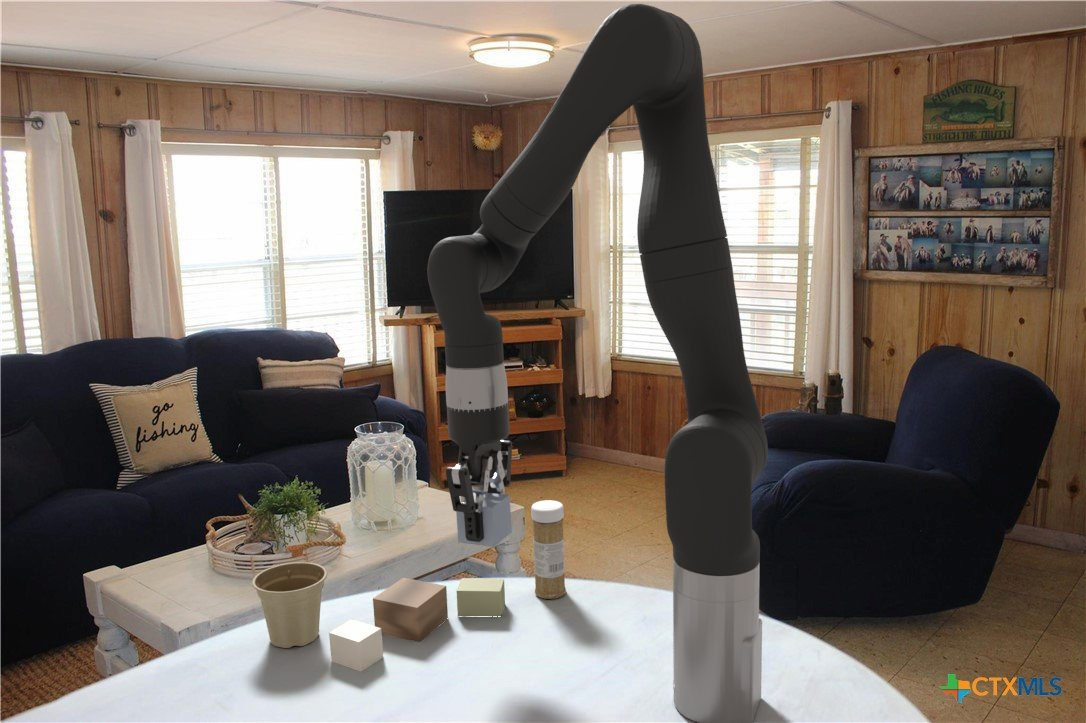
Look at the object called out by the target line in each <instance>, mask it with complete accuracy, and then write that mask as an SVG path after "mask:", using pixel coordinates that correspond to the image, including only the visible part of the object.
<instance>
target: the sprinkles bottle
mask: <svg viewBox="0 0 1086 723" xmlns="http://www.w3.org/2000/svg"><path fill="white" fill-rule="evenodd" d="M530 507H531V509H530V511H531V512H530V514H531V517H530V518H531V519H532V530H533V532H532V533H533V537H532V540H533V541H532V543H533V567H534V568H533V570H534V582H535V588H534V593H535V595H536V596H537V597H539V598H542V599H545V600H554V599H559V598H560V597H563V596H564V595H565V594H566V592H567V590H566V589H567V588H566V583H565V581H566V580H565V575H566V574H565V573H566V572H565V571H566V568H565V540H564V526H563V525H564V524H563V521H564V518H565V515H564V514H565V513H564V512H565V511H564V504H563V503H562V502H560V501H558V500H550V499H548V500H545V499H544V500H539V501H536V502H534V503H533V504H532V505H531V506H530Z"/></svg>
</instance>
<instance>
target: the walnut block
mask: <svg viewBox="0 0 1086 723" xmlns="http://www.w3.org/2000/svg"><path fill="white" fill-rule="evenodd" d="M372 603H373V604H372V607H373V620H374V621H373V622H374V626H375V627H378V628H381V633H382V635H384V636H385V635H386V636H390V637H394V638H397V639H398V638H399V639H403V640H407V641H412V642H415V643H416V642H417V643H421V642H422V641H423V640H424V639H425V638H427V637H428V636H429V635H430V634H431V632H432V633H433V632H434V631H436V630H437V627H438V626H439V625H440V624H441V625H443V624H444V623H445V622H446V621H448V619H449V612H448V593H447V585H445V584H438V583H434V582H428V581H421V580H418V579H412V578H408V577H402V578H401V579H399V580H398V581H396V582H395V583H394V584H391V585H390V586H389V587H387V588H386V589H385V590H382V592H380V593H378V594H377V595H376V596H374V597H373V598H372ZM447 618H448V619H447ZM445 620H446V621H445ZM444 621H445V622H444ZM443 622H444V623H443ZM442 623H443V624H442ZM441 625H440V626H441ZM440 626H439V627H440ZM439 627H438V628H439Z"/></svg>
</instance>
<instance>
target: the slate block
mask: <svg viewBox="0 0 1086 723" xmlns="http://www.w3.org/2000/svg"><path fill="white" fill-rule="evenodd" d="M473 496H474V501H475V499H476V494H475V493H473ZM460 502H461V500H460ZM455 513H456V527H457V529H456V531H457V541H458V543H459V544H466V545H467V544H468V545H474V546H482V547H483V546H485V547H491V548H492V547H493V548H496V547H497V545H499V544H500V543H501V542H502V541H503V540H505V539H506V538H507V537H508V536H509V535H510V534H511V533H512V520H511V519H512V516H511V515H512V514H511V497H510V494H508V493H507V494H506V493H504V494H497V493H486V494H484V497H483V507H482V513H483V530H484V539H483V540H481V541H480V542H475V541H468V540H467V539H466V536H465V520H464V513H463V512H457V511H455Z"/></svg>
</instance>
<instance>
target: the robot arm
mask: <svg viewBox="0 0 1086 723" xmlns="http://www.w3.org/2000/svg"><path fill="white" fill-rule="evenodd" d="M705 98H706V97H705V82H704V68H703V57H702V51H701V45H700V43H699V40H698V37H697V35H696V33H695V31H694V30H693V28H692V27H691V26H690V24H689V23H688V22H687V21H685V20H684V19H683V18H682V17H681V16H679V15H676V14H674V13H672V12H669V11H666V10H663V9H660V8H658V7H656V6H652V5H649V4H643V3H630V4H626V5H623V6H620V7H619V8H617V9H614V11H612V13H610V14H609V15H608V16H607V17H606V18H605V19H604V20H603V22H602V23H601V24H600V25H599V27H598V29H597V30H596V32H595V33H594V35H593V36H592V38H591V40H590V41H589V43H588V45H587V46H586V49H585V50H584V52H583V53H582V55H581V58H580V59H579V61H578V63H577V64H576V67H575V69H574V70H573V71H572V74H571V75H570V77H569V79H568V80H567V82H566V84H565V86H564V87H563V89H562V90H561V92H560V94H559V96H558V97H557V99H556V100H555V102H554V104H553V105H552V107H551V108H550V111H548V114H547V115H546V117H545V118H544V120H543V121H542V123H541V124H540V126H539V128H538V129H537V130H536V132H535V133H534V135H533V136H532V137H531V139H530V140H529V142H528V144H527V145H526V146H525V148H523V150H522V151H521V153H520V154H519V155H518V156H517V158H516V159H515V160H514V161H513V163H512V164H511V165H510V166H509V168H508V169H507V170H506V171H505V172H504V173H503V175H502V176H501V178H500V179H499V180H498V181H497V183H496V184H495V185H494V186H493V188H492V189H491V190H490V191H489V193H488V194H487V195H486V196H485V198H484V200H483V201H482V203H481V205H480V207H479V208H480V209H479V217H480V221H481V223H482V224H481V225H480V227H479V228H478V229H477V230H476V231H475V232H474V233H473V234H469V235H468V234H467V235H457V236H449V237H445V238H443V239H441V240H440V241H438V242H437V243H436V244H435V245H434V246H433V248H432V250H431V252H430V254H429V258H428V260H427V261H428V262H427V272H426V274H427V281H428V285H429V290H430V293H431V297H432V299H433V304H434V306H435V310H436V312H437V316H438V319H439V321H440V324H441V327H442V329H443V333H444V334H443V335H444V353H445V367H446V368H445V402H446V414H447V431H448V432H447V433H448V437H449V439H450V440H451V441H452V442H455V444H457V446H458V447H459V449H458V450H459V451H458V452H459V453H458V458H457V459H458V460H457V462H458V463H457V464H456V465H455V466H447V467H446V469H445V475H446V481H447V485H448V486H447V487H448V491H449V495H450V496H449V497H450V501H451V506H452V510H453V512H456V511H457V512H463V513H464V520H465V536H466V539H467V540H468V541H475V542H480V541H481V540H483V539H484V530H483V513H482V507H483V497H484V494H486V493H497V494H506V491H505V490H506V488H509V487H510V486H511V478H512V477H511V476H512V459H513V458H512V457H513V455H512V454H513V442H512V441H511V440H506V439H507V438H508V437H509V435H510V433H511V429H510V410H509V409H510V408H509V394H508V379H507V373H506V369H505V368H506V367H505V362H504V361H505V359H504V357H505V356H504V340H503V337H504V336H503V328H502V324H501V323H502V322H501V321H500V319H499V318H498V317H497V316H495V315H493V314H490V313H486V311H485V308H484V306H483V302H482V297H481V294H482V293H488V292H491V291H494V290H495V289H497V288H499V287H500V286H501V285H502V284H504V283H505V281H506V280H508V278H509V277H511V275H512V274H513V272H514V271H515V269H516V268H517V266H518V264H519V262H520V260H521V259H522V257H523V255H524V253H525V252H526V249H527V248H528V245H529V243H530V241H531V239H533V237H534V236H535V235H536V234H537V233H538V232H539V231H540V230H541V228H542V227H543V226H545V224H546V223H547V221H549V219H551V217H552V216H553V215H554V214H555V212H556V211H557V210H558V209H559V207H561V205H562V204H563V202H564V201H565V199H566V198H568V196H569V194H570V192H571V191H572V188H573V187H574V185H575V182H576V181H577V178H578V177H579V174H580V172H581V170H582V168H583V165H584V163H585V161H586V160H587V157H588V155H589V153H590V152H591V150H592V149H593V147H594V145H595V144H596V142H597V141H598V140H599V139H600V138H601V136H602V135H603V134H604V133H605V131H606V130H607V129H608V128H609V127H610V126H611V125H612V124H613V123H614V122H615V121H616V120H618V119H619V117H621V116H622V115H623V114H624V113H625V112H626V111H628V110H629V109H630V108H631V107H633V109H634V114H635V118H636V122H637V125H638V132H639V136H640V142H641V147H642V153H643V156H642V157H643V175H642V182H641V192H640V198H639V206H638V214H637V225H636V226H637V227H636V228H637V232H636V233H637V235H636V236H637V245H638V254H639V258H640V264H641V265H640V266H641V269H642V276H643V280H644V285H645V292H646V294H647V297H648V302H649V304H650V307H651V309H652V311H653V313H654V317H655V318H656V320H657V322H658V324H659V326H660V328H661V331H662V332H663V334H664V335H665V337H666V339H667V341H668V343H669V344H670V347H671V349H672V351H673V352H674V354H675V357H676V360H677V362H678V365H679V368H680V372H681V377H682V382H683V387H684V388H683V389H684V395H685V401H686V403H685V404H686V411H687V412H686V414H687V423H686V424H685V425H684V426H683V427H681V428H680V429H679V430H678V431H677V432H676V433H675V434H674V435H673V436H672V437H671V439H670V441H669V443H668V445H667V449H666V454H665V459H664V496H665V497H664V498H665V499H664V500H665V516H666V519H665V520H666V521H665V523H666V530H667V535H668V538H669V540H670V542H671V544H672V577H673V578H672V581H673V582H672V589H673V590H672V598H673V599H672V601H673V602H672V603H673V604H672V605H673V606H672V608H673V610H672V613H673V614H672V616H673V617H672V618H673V619H672V620H673V621H672V622H673V624H672V628H673V629H672V631H673V632H672V636H673V637H672V638H673V646H672V647H673V649H672V650H673V660H672V661H673V663H672V664H673V666H672V667H673V680H672V681H673V682H672V687H673V688H672V690H673V704H674V706H675V708H676V710H678V712H679V713H680V714H681V715H682V716H684V717H685V718H687V719H688V720H691V721H693V722H697V723H754V721H755V718H756V714H757V712H758V708H759V704H760V701H761V698H762V670H763V669H762V666H763V665H762V664H763V662H762V660H763V659H762V658H763V656H762V655H763V620H762V619H761V618H760V566H761V565H760V560H761V559H760V558H761V557H760V556H761V555H760V554H761V544H760V543H761V542H760V538H759V535H758V534H757V532H755V530H754V529H753V519H752V517H753V516H752V514H753V513H752V511H753V509H752V503H753V502H752V489H753V487H752V486H753V484H754V483H755V482H756V481H757V480H758V479H759V478H760V476H761V475H762V473H763V472H764V469H765V467H766V464H767V462H768V461H767V460H768V455H769V449H768V448H769V446H768V445H769V444H768V438H767V434H766V431H765V426H764V423H763V420H762V416H761V413H760V409H759V405H758V403H757V400H756V399H757V398H756V395H755V393H754V392H755V391H754V389H753V385H752V381H751V378H750V375H749V370H748V365H747V362H746V355H745V350H744V342H743V332H742V331H743V330H742V324H741V318H740V317H741V316H740V311H739V304H738V299H737V292H736V286H735V285H736V284H735V278H734V277H735V276H734V268H733V262H732V257H731V251H730V245H729V240H728V233H727V229H726V228H727V227H726V225H725V220H724V216H723V211H722V205H721V198H720V194H719V189H718V188H719V187H718V184H717V183H718V182H717V178H716V177H717V176H716V172H715V168H714V164H713V158H712V153H711V148H710V142H709V135H708V128H707V125H708V124H707V115H706V114H707V113H706V102H705ZM472 484H479V485H478V486H473V485H472ZM473 493H475V494H476V499H475V501H474V496H473ZM460 501H461V502H460Z"/></svg>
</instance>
